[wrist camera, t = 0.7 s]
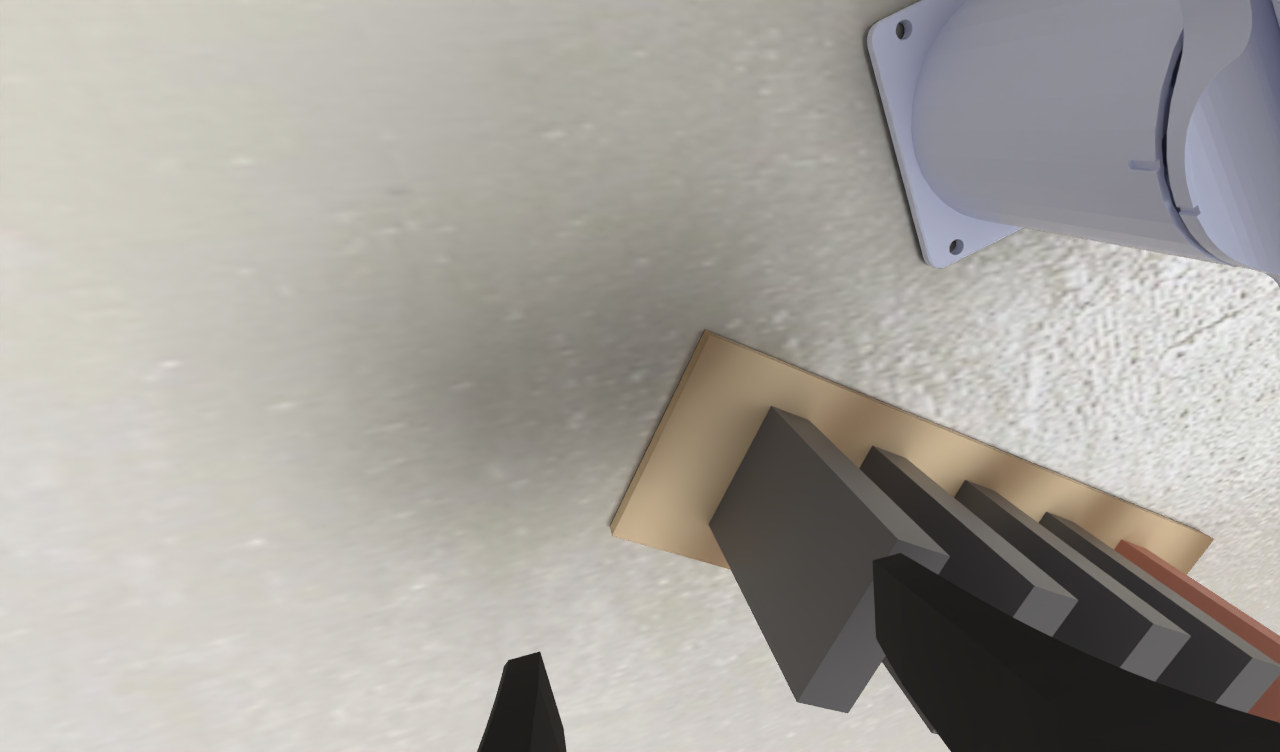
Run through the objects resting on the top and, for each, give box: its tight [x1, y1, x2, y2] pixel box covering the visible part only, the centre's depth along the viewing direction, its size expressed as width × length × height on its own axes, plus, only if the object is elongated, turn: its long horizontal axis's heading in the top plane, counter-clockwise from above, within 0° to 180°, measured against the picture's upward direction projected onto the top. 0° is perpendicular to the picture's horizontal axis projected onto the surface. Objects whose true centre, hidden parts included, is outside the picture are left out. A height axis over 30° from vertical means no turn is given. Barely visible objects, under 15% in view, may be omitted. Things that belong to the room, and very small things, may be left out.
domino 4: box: [1039, 512, 1280, 713], centre depth 24 cm, size 2×5×8 cm, turn 155°
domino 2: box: [859, 445, 1079, 734], centre depth 21 cm, size 2×5×8 cm, turn 155°
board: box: [610, 330, 1214, 575], centre depth 26 cm, size 26×8×1 cm, turn 65°
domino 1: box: [708, 406, 950, 713], centre depth 20 cm, size 2×5×8 cm, turn 155°
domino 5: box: [1114, 539, 1280, 723], centre depth 25 cm, size 2×5×8 cm, turn 156°
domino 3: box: [954, 480, 1191, 681], centre depth 22 cm, size 2×5×8 cm, turn 156°
